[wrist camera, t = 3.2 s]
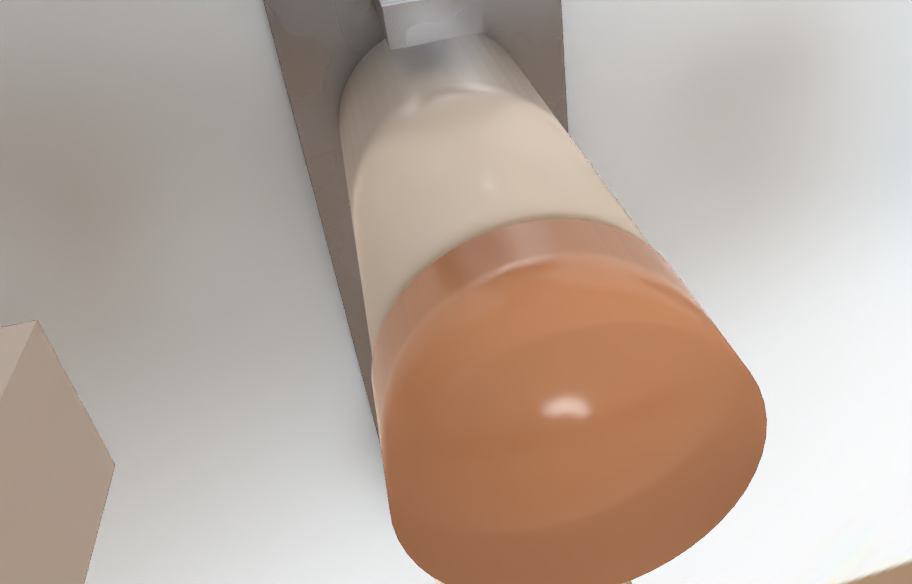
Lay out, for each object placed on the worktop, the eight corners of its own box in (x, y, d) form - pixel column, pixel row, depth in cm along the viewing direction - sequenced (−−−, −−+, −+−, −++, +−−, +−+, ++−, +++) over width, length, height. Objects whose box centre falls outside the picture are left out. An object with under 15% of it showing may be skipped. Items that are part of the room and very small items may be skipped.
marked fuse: (358, 225, 18) (422, 634, 10) (315, 41, 15) (351, 377, 7) (538, 188, 18) (750, 555, 10) (523, 3, 16) (786, 281, 7)
